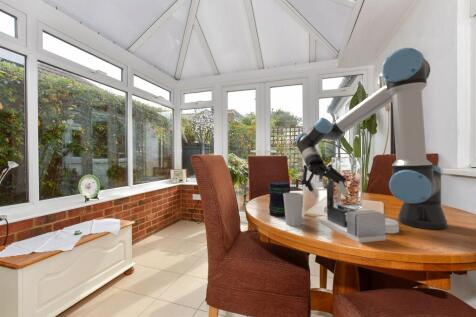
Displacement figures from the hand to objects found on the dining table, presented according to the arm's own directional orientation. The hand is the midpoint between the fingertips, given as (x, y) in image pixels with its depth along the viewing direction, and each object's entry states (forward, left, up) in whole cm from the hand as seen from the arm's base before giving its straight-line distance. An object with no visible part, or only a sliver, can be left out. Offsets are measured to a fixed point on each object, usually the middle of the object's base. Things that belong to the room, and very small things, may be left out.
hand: (331, 196), depth 93 cm
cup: (+16, -2, -11) cm, 19 cm away
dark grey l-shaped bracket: (0, +5, -8) cm, 9 cm away
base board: (0, +9, -11) cm, 14 cm away
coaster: (-13, +12, -11) cm, 21 cm away
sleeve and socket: (0, +11, -9) cm, 14 cm away
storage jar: (+16, -17, -11) cm, 26 cm away
